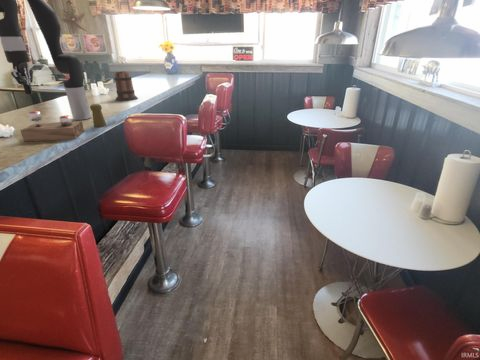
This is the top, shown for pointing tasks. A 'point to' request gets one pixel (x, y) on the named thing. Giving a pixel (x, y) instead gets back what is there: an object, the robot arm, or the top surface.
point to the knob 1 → (35, 117)
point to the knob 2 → (65, 120)
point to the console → (52, 131)
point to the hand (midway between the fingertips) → (29, 94)
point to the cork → (97, 115)
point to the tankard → (124, 87)
